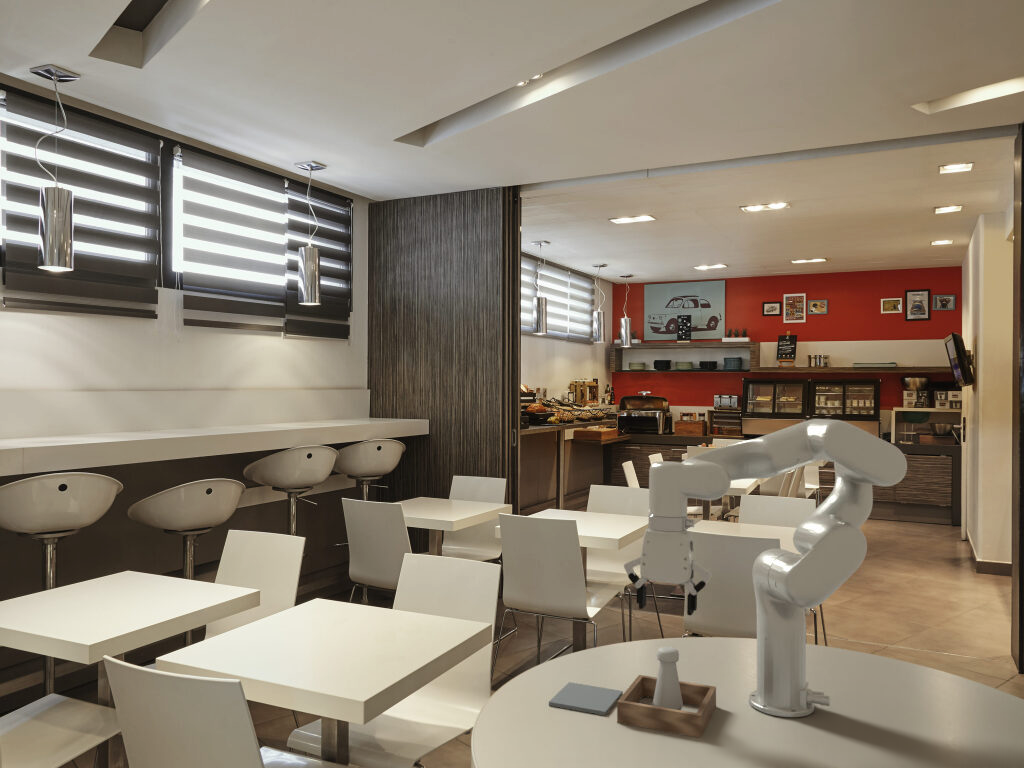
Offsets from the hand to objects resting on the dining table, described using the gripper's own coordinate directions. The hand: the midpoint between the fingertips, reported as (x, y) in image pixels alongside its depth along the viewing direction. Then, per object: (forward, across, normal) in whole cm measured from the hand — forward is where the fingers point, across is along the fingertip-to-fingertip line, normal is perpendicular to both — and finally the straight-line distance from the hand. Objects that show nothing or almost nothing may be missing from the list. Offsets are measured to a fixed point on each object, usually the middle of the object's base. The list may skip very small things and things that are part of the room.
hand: (666, 610), depth 155 cm
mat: (+21, +16, 0) cm, 26 cm away
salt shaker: (+21, -1, 0) cm, 21 cm away
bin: (+20, -1, 0) cm, 21 cm away
